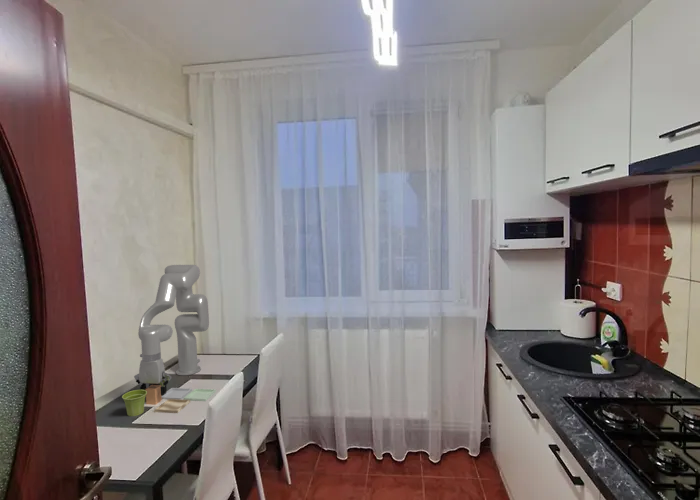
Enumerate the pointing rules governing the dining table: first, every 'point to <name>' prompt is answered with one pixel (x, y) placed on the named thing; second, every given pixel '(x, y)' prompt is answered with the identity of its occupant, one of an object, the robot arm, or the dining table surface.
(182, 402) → the tray birch
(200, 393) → the tray green
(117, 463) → the dining table surface
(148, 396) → the letter block
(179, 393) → the tray grey
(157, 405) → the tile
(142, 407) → the plant pot
